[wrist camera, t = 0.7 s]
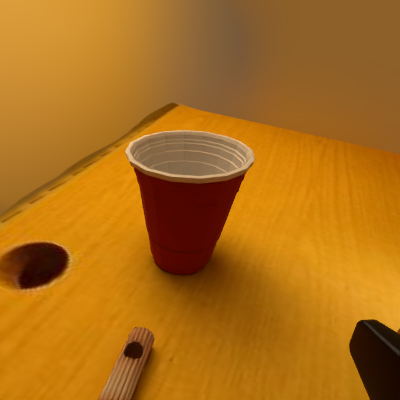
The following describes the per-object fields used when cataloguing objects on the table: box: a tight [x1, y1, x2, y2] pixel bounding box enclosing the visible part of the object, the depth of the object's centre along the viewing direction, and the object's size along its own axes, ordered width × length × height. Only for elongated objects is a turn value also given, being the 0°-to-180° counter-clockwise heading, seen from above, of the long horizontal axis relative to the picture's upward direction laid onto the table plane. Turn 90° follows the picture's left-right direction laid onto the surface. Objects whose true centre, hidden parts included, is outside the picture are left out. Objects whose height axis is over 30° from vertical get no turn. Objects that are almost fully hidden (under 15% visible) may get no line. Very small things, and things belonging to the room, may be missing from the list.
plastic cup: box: [125, 130, 255, 275], centre depth 32 cm, size 11×11×12 cm
